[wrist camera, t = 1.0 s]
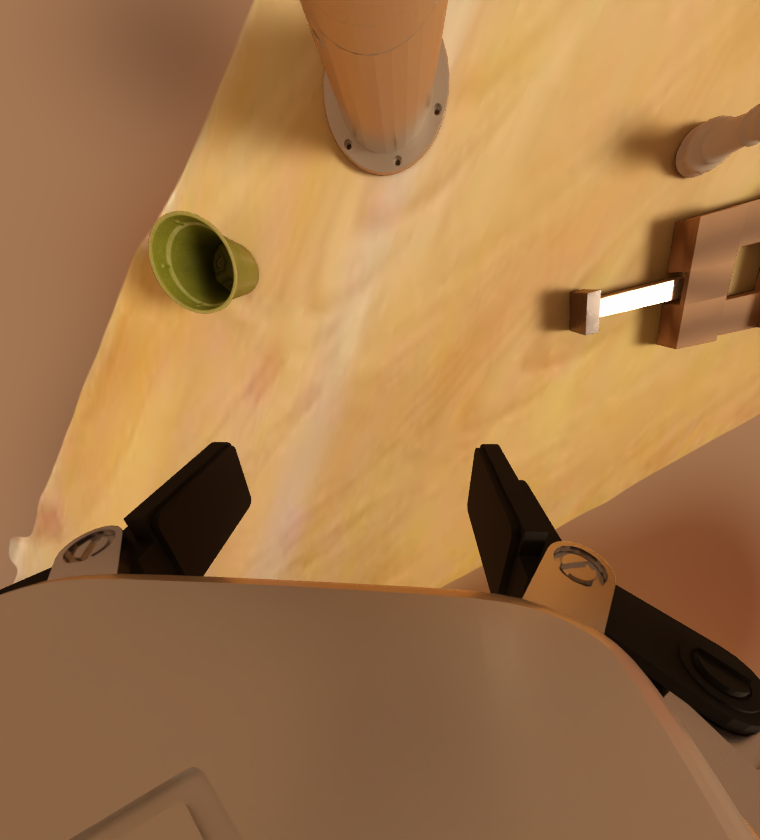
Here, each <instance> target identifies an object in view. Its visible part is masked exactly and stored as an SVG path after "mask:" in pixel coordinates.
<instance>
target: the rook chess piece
mask: <svg viewBox="0 0 760 840" xmlns="http://www.w3.org/2000/svg"><path fill="white" fill-rule="evenodd" d="M759 142H760V104H758V105H757V106H755V107H754V108H752V109H751V110H750V111H749V112H748V113H746V114H743V115H740V116H737V117H732V116H724V115H723V116H719V117H716V118H712V119H709V120H708V121H706V122H703V123H700V124H699V125H698V126H696V127H695V128H694V129H692V130H691V131H690V132H689V133H688V135H687V136H686V137H685V138H684V139H683V141H682V143H681V145H680V147H679V149H678V151H677V154H676V160H675V164H676V168H677V171H678V172H679V173H680V174H681V175H682V176H684V177H690V178H692V177H696V176H699V175H702V174H703V173H705V172H708V171H710V170H712V169H713V168H715V167H716V166H718V165H719V164H721V163H722V162H723V161H724V160H725V159H726V158H727V157H729V155H730V154H731V153H733V152H734V151H736V150H738V149H740V148H742V147H744V146H747V147H749V146H753V145H756V144H757V143H759Z"/></svg>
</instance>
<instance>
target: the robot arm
mask: <svg viewBox="0 0 760 840" xmlns="http://www.w3.org/2000/svg"><path fill="white" fill-rule="evenodd" d="M300 2H301V5H302V8H303V11H304V13H305V16H306V19H307V21H308V24H309V27H310V30H311V32H312V35H313V38H314V41H315V43H316V46H317V49H318V52H319V54H320V57H321V60H322V63H323V65H324V76H323V99H324V106H325V111H326V117H327V120H328V123H329V126H330V129H331V132H332V134H333V136H334V138H335V140H336V142H337V144H338V145H339V147H340V149H341V150H342V152H343V153H344V154H345V155H346V156H347V158H348V159H349V160H350V161H351V162H352V163H353V164H355V165H356V166H357V167H359V168H360V169H362V170H364V171H366V172H369V173H371V174H376V175H393V174H396V173H399V172H402V171H404V170H406V169H408V168H410V167H411V166H413V165H414V164H415V163H416V162H417V161H419V160H420V159H421V158H422V157H423V156H424V154H425V153H426V152H427V151H428V149H429V148H430V147H431V145H432V143H433V141H434V140H435V138H436V136H437V134H438V132H439V129H440V127H441V124H442V121H443V118H444V114H445V111H446V106H447V100H448V94H449V66H448V57H447V53H446V49H445V46H444V42H443V39H442V34H443V28H444V22H445V16H446V10H447V3H448V0H300ZM435 111H438V112H439V115H435V114H434V113H435ZM349 145H351V146H352V147H351V149H350V150H348V149H347V147H348V146H349ZM397 161H399V162H400V165H399V166H397V165H396V164H395V163H396V162H397ZM250 504H251V496H250V493H249V490H248V487H247V483H246V480H245V477H244V474H243V471H242V468H241V465H240V461H239V458H238V455H237V452H236V449H235V447H234V446H232V445H231V444H230V443H228V442H212V443H211V444H210V445H208V446H207V447H206V448H205V449H204V450H203V451H201V452H200V453H199V454H198V455H197V456H196V457H194V458H193V459H192V460H191V461H190V462H189V463H188V464H186V465H185V466H184V467H183V468H182V469H181V470H179V471H178V472H177V473H176V474H175V475H174V476H172V477H171V478H170V479H169V480H168V481H167V482H166V483H164V484H163V485H162V486H161V487H160V488H159V489H157V490H156V491H155V492H154V493H153V494H152V495H150V496H149V497H148V498H147V499H146V500H145V501H144V502H142V503H141V504H140V505H139V506H138V507H137V508H135V509H134V510H133V511H132V512H131V513H130V514H128V515H127V516H126V517H125V518H124V521H125V522H126V524H127V525H128V527H127V528H125V529H124V530H122V529H121V528H120V527H118V526H104V527H101V528H97V529H94V530H92V531H90V532H87V533H85V534H83V535H81V536H80V537H78V538H76V539H74V540H73V541H72V542H70V543H69V544H68V545H66V546H65V547H64V548H63V549H62V550H61V551H60V552H59V554H58V555H57V557H56V558H55V561H54V564H53V566H52V567H51V568H49V569H47V570H44V571H42V572H40V573H38V574H35V575H33V576H31V577H28V578H26V579H24V580H21V581H19V582H17V583H15V584H12V585H10V586H8V587H5V588H3V589H1V590H0V840H756V839H755V837H754V835H753V834H752V832H751V831H750V829H749V828H748V826H747V824H746V823H745V821H744V819H745V820H746V821H747V823H748V824H749V825H750V826H751V828H752V829H753V830H754V831H755V833H756V834H757V835H758V836H759V838H760V679H759V678H758V677H757V676H756V675H755V674H754V673H753V672H752V670H751V669H749V668H748V667H747V666H746V665H745V664H744V663H743V662H741V661H740V660H739V659H738V658H737V657H736V656H734V655H733V654H731V653H729V652H728V651H727V650H725V649H724V648H722V647H721V646H719V645H717V644H716V643H714V642H712V641H710V640H709V639H707V638H705V637H704V636H702V635H700V634H699V633H697V632H695V631H694V630H692V629H690V628H688V627H687V626H685V625H683V624H682V623H680V622H678V621H677V620H675V619H673V618H672V617H670V616H668V615H666V614H665V613H663V612H661V611H660V610H658V609H656V608H654V607H653V606H651V605H649V604H647V603H646V602H644V601H643V600H641V599H639V598H638V597H636V596H634V595H632V594H631V593H629V592H627V591H626V590H624V589H622V588H621V587H619V586H617V585H616V580H615V579H616V578H615V575H614V572H613V570H612V568H611V567H610V566H609V564H608V563H607V562H606V561H605V560H604V559H603V558H602V557H601V556H600V555H598V554H597V553H596V552H594V551H592V550H591V549H589V548H587V547H586V546H583V545H580V544H578V543H575V542H570V541H562V540H561V539H560V537H559V536H558V534H557V532H556V531H555V529H554V527H553V526H552V524H551V522H550V521H549V519H548V517H547V516H546V514H545V512H544V511H543V509H542V507H541V506H540V504H539V502H538V501H537V499H536V497H535V496H534V494H533V492H532V491H531V489H530V488H529V486H528V484H527V483H526V482H525V481H523V480H518V478H517V476H516V474H515V473H514V471H513V469H512V467H511V466H510V464H509V462H508V460H507V459H506V457H505V455H504V454H503V452H502V450H501V448H500V447H499V445H498V444H482V445H481V446H480V448H476V449H475V453H474V460H473V467H472V475H471V482H470V489H469V496H468V504H467V507H468V514H469V517H470V521H471V524H472V528H473V532H474V535H475V539H476V542H477V546H478V549H479V553H480V557H481V560H482V564H483V567H484V571H485V575H486V578H487V582H488V585H489V589H490V593H483V592H476V591H464V590H451V589H437V588H423V587H407V586H389V585H370V584H352V583H333V582H313V581H293V580H272V579H251V578H228V577H205V576H204V574H205V573H206V571H207V570H208V568H209V567H210V565H211V564H212V562H213V561H214V559H215V558H216V556H217V555H218V553H219V552H220V550H221V549H222V547H223V546H224V544H225V543H226V541H227V540H228V538H229V537H230V535H231V534H232V532H233V531H234V529H235V528H236V526H237V525H238V523H239V522H240V520H241V519H242V517H243V516H244V514H245V513H246V511H247V510H248V508H249V507H250ZM740 814H741V815H742V816H741V815H740ZM742 817H743V818H744V819H743V818H742Z"/></svg>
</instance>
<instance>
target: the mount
mask: <svg viewBox="0 0 760 840" xmlns="http://www.w3.org/2000/svg"><path fill="white" fill-rule="evenodd" d="M757 242H760V199H757V200H753V201H749V202H746V203H742V204H739V205H735V206H732V207H728V208H724V209H721V210H717V211H714V212H710V213H707V214H703V215H699V216H696V217H692V218H689V219H685V220H682V221H678V222H675V228H674V234H673V241H672V247H671V254H670V260H669V267H668V272H686V273H685V278H684V284H683V290H682V295H681V299H680V300H676V301H672V302H668V303H664V304H663V306H662V312H661V319H660V325H659V332H658V338H657V345H661V346H665V347H669V348H673V349H680V348H684V347H689V346H694V345H699V344H703V343H708V342H713V341H716V339H717V335H722V334H727V333H731V332H736V331H741V330H745V329H750V328H755V327H760V270H759V273H758V277H757V281H756V284H755V288H754V290H753V291H749V292H745V293H741V294H736V295H732V296H728V297H727V293H728V289H729V285H730V281H731V277H732V273H733V268H734V264H735V260H736V256H737V252H738V248H739V247H742V246H746V245H750V244H753V243H757Z"/></svg>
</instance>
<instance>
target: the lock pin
mask: <svg viewBox="0 0 760 840" xmlns="http://www.w3.org/2000/svg"><path fill="white" fill-rule="evenodd" d="M684 278H685V277H676V278H669V279H665V280H661V281H657V282H653V283H649V284H645V285H641V286H637V287H633V288H629V289H625V290H621V291H617V292H613V293H609V294H605V295H601V290H590V289H582V290H578V291H574V292H571V302H570V331H573V332H576V333H580V334H583V335H589V334H593V333H598V330H599V317H603V316H607V315H611V314H615V313H620V312H624V311H628V310H632V309H636V308H641V307H645V306H649V305H653V304H657V303H662V302H666V301H670V300H674V299H678V298H681V295H682V290H683V284H684Z"/></svg>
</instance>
